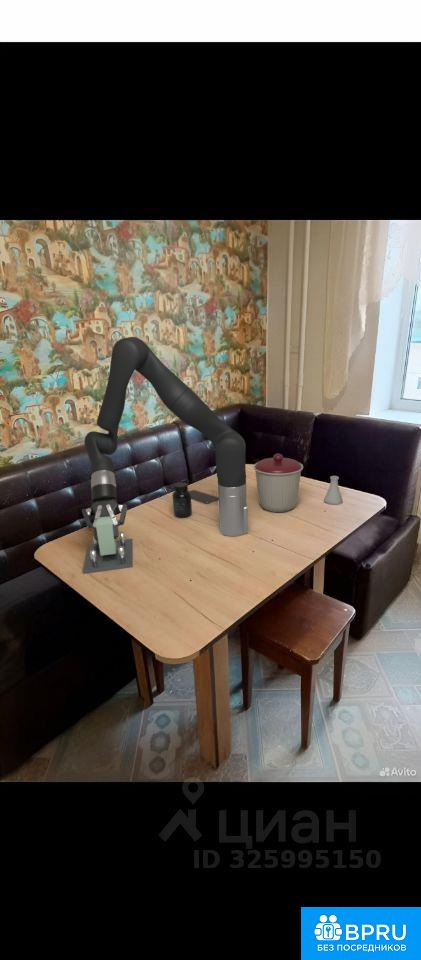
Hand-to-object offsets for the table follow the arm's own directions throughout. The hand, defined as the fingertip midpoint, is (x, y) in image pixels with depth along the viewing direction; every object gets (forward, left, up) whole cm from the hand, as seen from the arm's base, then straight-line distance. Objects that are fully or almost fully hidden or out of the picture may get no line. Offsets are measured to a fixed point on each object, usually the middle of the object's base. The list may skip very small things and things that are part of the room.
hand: (106, 539), depth 121 cm
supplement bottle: (-21, -31, -7) cm, 38 cm away
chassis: (0, -2, -7) cm, 7 cm away
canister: (-57, -34, -7) cm, 66 cm away
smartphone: (-27, -48, -8) cm, 55 cm away
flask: (-79, -37, -7) cm, 87 cm away
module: (0, -2, -5) cm, 5 cm away
